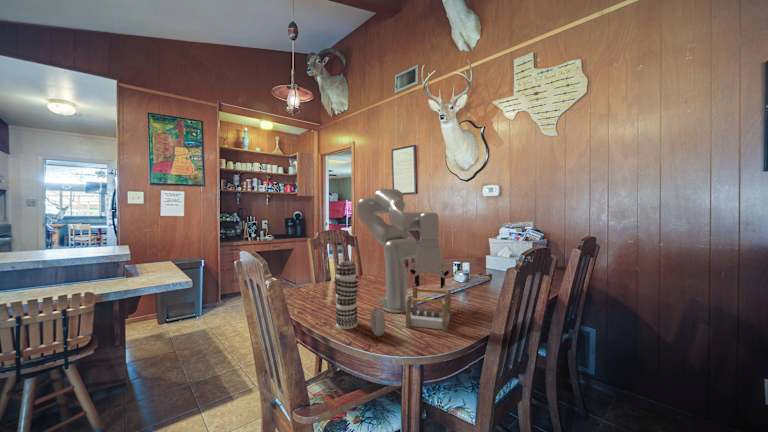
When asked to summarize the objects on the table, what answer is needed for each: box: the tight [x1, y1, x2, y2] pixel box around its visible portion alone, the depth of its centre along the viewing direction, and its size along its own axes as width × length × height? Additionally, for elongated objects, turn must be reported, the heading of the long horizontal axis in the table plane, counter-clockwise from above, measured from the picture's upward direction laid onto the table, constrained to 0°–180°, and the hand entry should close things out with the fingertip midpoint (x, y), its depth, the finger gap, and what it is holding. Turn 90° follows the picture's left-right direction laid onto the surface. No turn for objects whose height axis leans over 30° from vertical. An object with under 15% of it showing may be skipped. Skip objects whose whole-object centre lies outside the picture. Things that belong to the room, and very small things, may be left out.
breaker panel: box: [411, 307, 450, 330], centre depth 122 cm, size 15×10×5 cm, turn 73°
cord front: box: [410, 297, 443, 304], centre depth 116 cm, size 13×1×1 cm, turn 73°
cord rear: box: [417, 288, 446, 295], centre depth 128 cm, size 13×1×1 cm, turn 73°
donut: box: [370, 307, 386, 337], centre depth 111 cm, size 10×4×10 cm, turn 19°
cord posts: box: [405, 286, 452, 333], centre depth 122 cm, size 16×15×12 cm
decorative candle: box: [334, 260, 359, 330], centre depth 121 cm, size 9×9×25 cm
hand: (429, 286), depth 122 cm, fingers open, 9 cm apart
